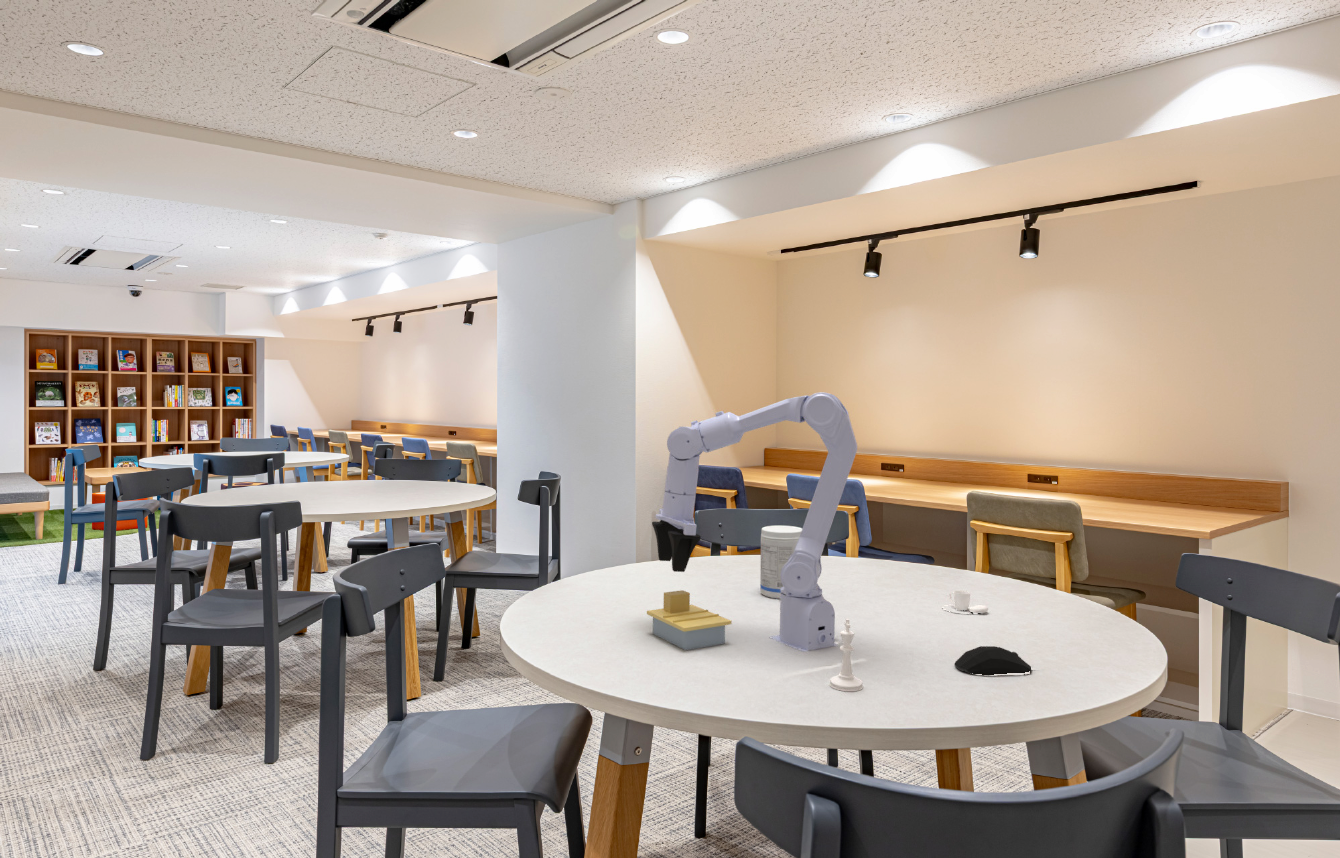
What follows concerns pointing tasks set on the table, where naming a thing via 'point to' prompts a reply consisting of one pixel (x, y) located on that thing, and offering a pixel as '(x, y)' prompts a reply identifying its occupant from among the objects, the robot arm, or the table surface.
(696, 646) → the parts tub
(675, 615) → the lid
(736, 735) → the table surface
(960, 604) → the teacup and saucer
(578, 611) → the table surface
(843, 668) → the chess piece
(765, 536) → the supplement tub
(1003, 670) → the gaming mouse
